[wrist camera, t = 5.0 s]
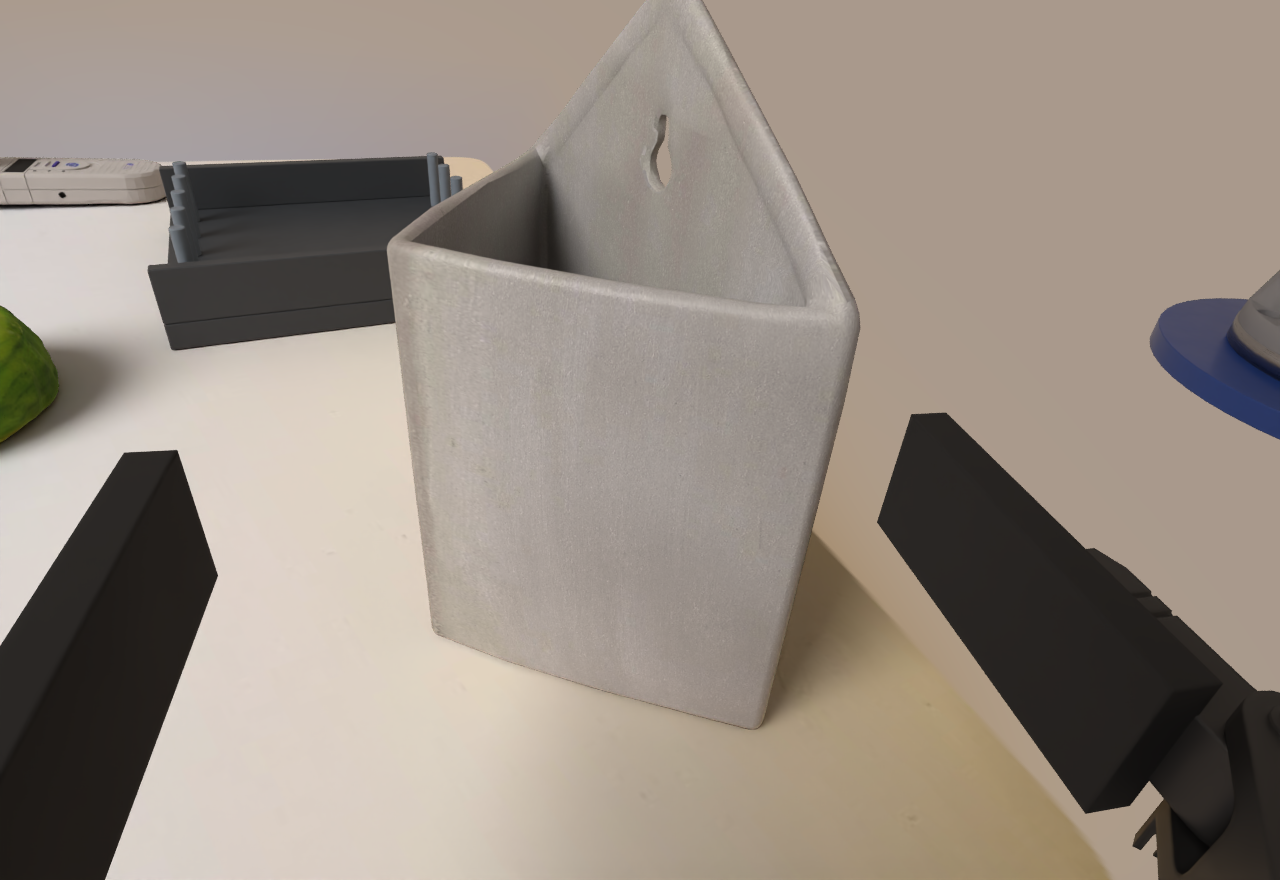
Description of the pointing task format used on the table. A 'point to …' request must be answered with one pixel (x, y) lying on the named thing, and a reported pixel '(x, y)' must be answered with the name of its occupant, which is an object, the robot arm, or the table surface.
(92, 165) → the electronic device
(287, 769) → the table surface
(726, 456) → the planter
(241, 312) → the dish rack
